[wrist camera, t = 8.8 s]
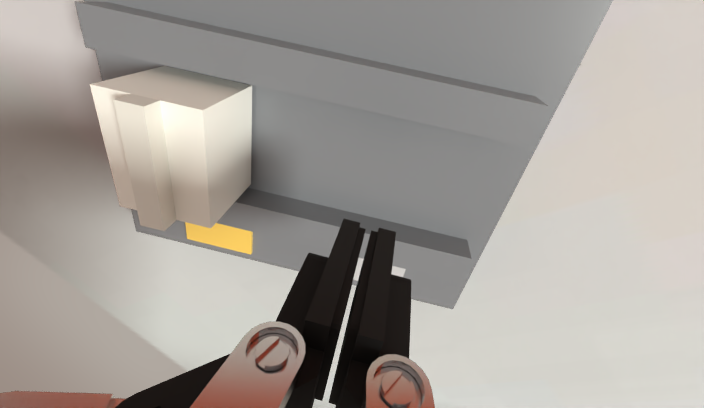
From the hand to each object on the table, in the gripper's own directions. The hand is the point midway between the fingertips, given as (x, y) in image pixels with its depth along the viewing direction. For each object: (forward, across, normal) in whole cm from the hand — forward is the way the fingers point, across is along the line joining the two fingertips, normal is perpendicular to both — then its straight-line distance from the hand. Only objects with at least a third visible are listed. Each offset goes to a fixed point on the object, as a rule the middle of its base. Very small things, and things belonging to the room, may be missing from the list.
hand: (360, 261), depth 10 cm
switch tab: (+6, +8, -1) cm, 10 cm away
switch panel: (+8, +4, -1) cm, 9 cm away
